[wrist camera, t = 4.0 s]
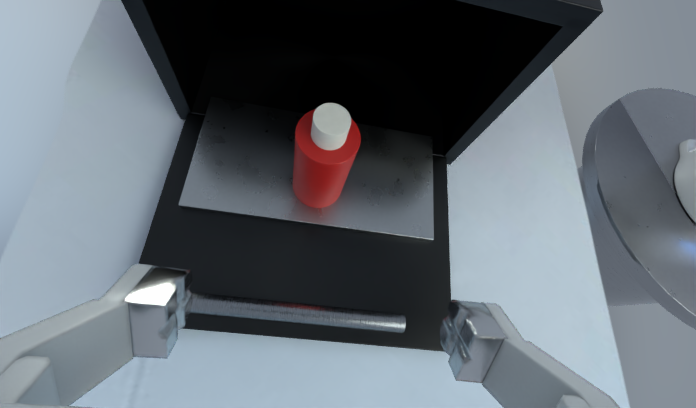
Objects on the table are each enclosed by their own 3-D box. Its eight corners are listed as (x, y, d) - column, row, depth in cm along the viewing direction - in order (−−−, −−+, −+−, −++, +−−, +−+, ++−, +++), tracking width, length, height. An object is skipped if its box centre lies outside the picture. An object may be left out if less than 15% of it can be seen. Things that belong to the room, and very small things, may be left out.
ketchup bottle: (336, 160, 33) (358, 87, 23) (346, 204, 32) (374, 145, 22) (288, 166, 32) (290, 91, 22) (297, 211, 31) (303, 154, 20)
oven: (456, 352, 31) (715, 387, 12) (112, 321, 27) (-275, 306, 8) (445, 28, 46) (550, -171, 28) (227, -22, 42) (182, -293, 24)
